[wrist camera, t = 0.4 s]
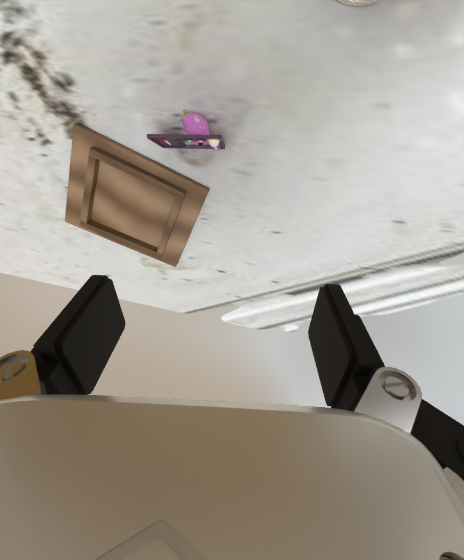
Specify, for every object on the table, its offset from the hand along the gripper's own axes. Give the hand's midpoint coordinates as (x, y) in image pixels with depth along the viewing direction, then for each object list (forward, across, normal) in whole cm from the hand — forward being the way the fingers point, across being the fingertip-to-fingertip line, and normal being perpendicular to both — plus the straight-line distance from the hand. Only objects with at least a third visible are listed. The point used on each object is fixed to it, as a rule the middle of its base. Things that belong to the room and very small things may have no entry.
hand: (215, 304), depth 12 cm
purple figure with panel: (+33, +6, -4) cm, 33 cm away
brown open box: (+33, +16, +8) cm, 37 cm away
